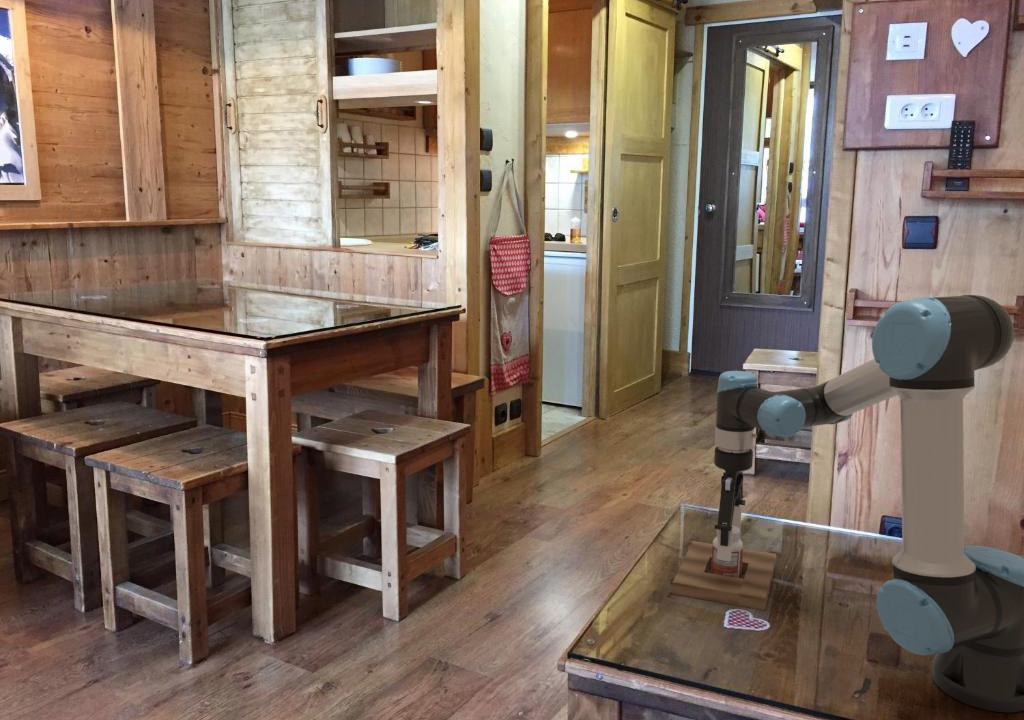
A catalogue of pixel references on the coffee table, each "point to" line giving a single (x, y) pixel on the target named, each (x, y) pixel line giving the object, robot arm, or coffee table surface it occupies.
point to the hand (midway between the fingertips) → (728, 547)
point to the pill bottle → (735, 565)
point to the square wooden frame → (725, 578)
